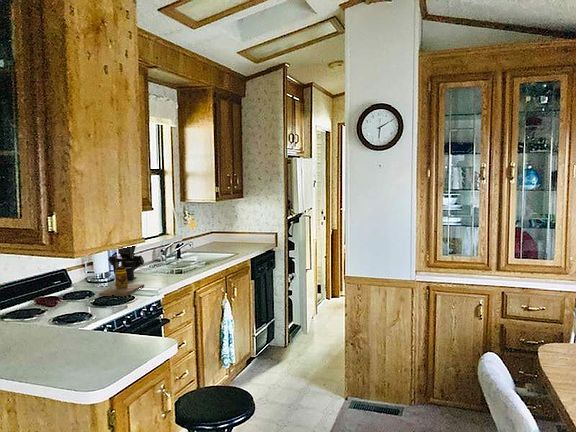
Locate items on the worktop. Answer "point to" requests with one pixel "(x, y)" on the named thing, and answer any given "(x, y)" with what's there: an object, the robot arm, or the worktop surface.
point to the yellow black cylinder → (121, 278)
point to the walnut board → (121, 292)
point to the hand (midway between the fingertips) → (122, 273)
